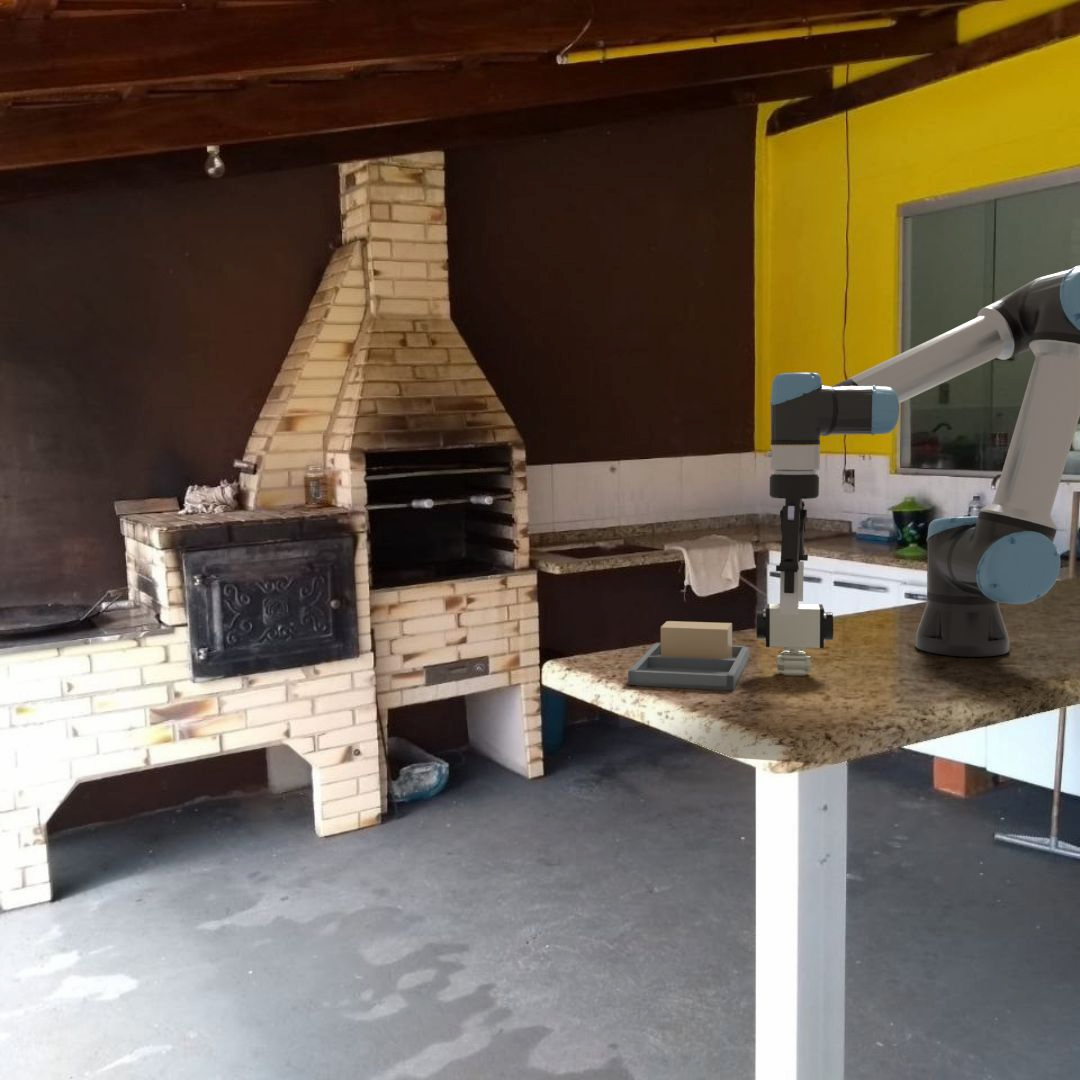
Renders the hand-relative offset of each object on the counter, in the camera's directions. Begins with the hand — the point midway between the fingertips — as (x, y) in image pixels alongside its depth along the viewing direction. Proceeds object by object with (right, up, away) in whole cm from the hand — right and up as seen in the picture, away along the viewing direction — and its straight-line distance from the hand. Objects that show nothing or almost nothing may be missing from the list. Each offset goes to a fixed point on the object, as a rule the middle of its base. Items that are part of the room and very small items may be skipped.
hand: (791, 607), depth 166 cm
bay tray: (-15, -11, +4) cm, 19 cm away
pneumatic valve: (+1, -11, +1) cm, 11 cm away
